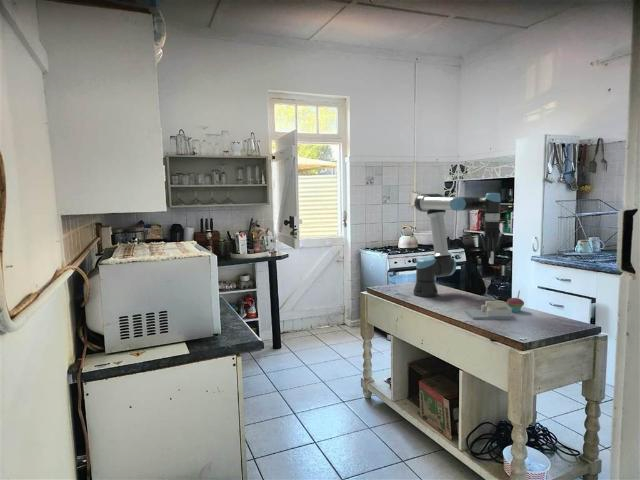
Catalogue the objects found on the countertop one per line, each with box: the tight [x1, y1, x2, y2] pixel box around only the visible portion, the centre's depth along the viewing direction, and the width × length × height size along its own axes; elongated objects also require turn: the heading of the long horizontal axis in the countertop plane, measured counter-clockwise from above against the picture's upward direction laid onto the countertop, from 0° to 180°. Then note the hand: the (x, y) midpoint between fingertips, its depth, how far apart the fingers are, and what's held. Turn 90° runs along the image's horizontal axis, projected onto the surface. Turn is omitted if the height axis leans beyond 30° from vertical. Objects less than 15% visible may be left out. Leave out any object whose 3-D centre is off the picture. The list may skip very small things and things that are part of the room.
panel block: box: [484, 300, 508, 313], centre depth 215 cm, size 5×9×6 cm, turn 87°
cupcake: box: [506, 289, 525, 313], centre depth 223 cm, size 9×8×12 cm
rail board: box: [464, 304, 515, 321], centre depth 216 cm, size 14×20×5 cm
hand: (491, 263), depth 231 cm, fingers closed
